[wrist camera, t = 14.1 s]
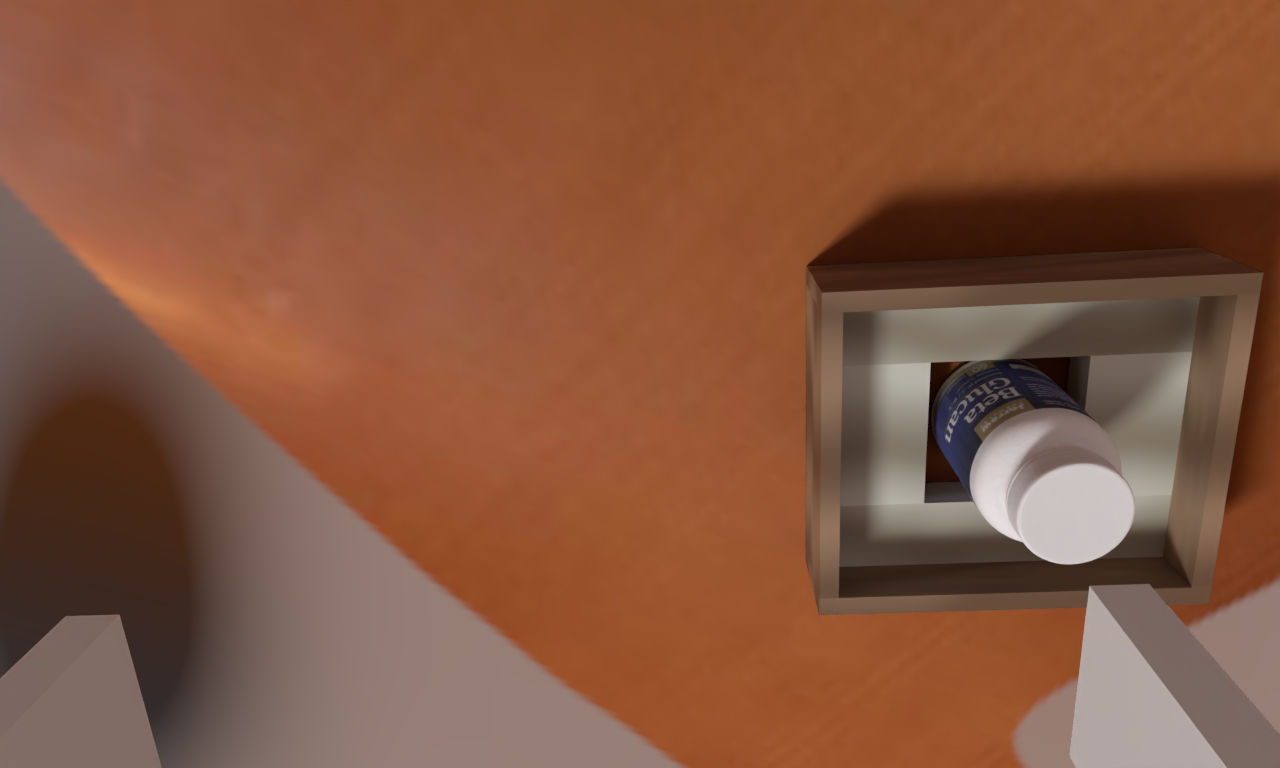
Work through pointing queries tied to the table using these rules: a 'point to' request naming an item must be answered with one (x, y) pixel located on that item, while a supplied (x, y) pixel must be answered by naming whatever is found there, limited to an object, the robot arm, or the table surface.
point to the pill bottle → (1033, 460)
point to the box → (1097, 381)
